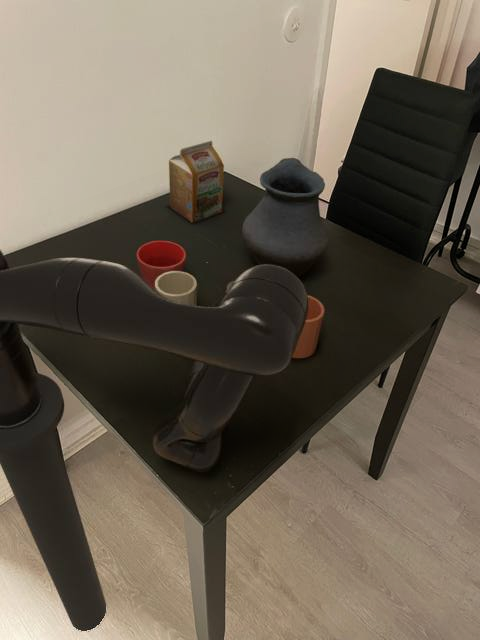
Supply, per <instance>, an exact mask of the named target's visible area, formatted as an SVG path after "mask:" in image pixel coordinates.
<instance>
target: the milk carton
mask: <svg viewBox="0 0 480 640" xmlns="http://www.w3.org/2000/svg"><path fill="white" fill-rule="evenodd" d="M224 171H225V164H224V162H223V160H222V158H221V157H220V155H219V153H218V152H217V150H216V149H215V147H214V146H213V141H212V140H208V141H204V142H201V143H196V144H194V145H193V144H192V145H190V146H186V147H182V148H180V149H179V154H176V155H173V156H172V157H170V158H169V159H168V176H169V177H168V178H169V207H170V208H171V209H172V210H173V211H175V212H177V213H178V214H179V215H181V216H182V217H184V218H185V219H187V220H188V221H189V222H191V223H192V224H193V223H195V222H198V221H201V220H203V219H206V218H209V217H212V216H214V215H217V214H220V213H222V212H223V193H224V174H225V173H224Z"/></svg>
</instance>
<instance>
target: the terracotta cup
mask: <svg viewBox="0 0 480 640" xmlns="http://www.w3.org/2000/svg"><path fill="white" fill-rule="evenodd" d="M307 296H308V313H307V318H306V322H305V325H304V327H303V330H302V333H301V335H300V338H299V341H298V343H297V346H296V348H295V351H294V353H293V356H292V358H293V359H305V358H308V357H311V356H312V355H313V354H314V353H315V352H316V349H317V346H318V340H319V337H320V332H321V328H322V323H323V319H324V314H325V307H324V304H323V303H322V302H321V300H319V299H318V298H316V297H314V296H311V295H309V294H307ZM292 358H291V359H292Z"/></svg>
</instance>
